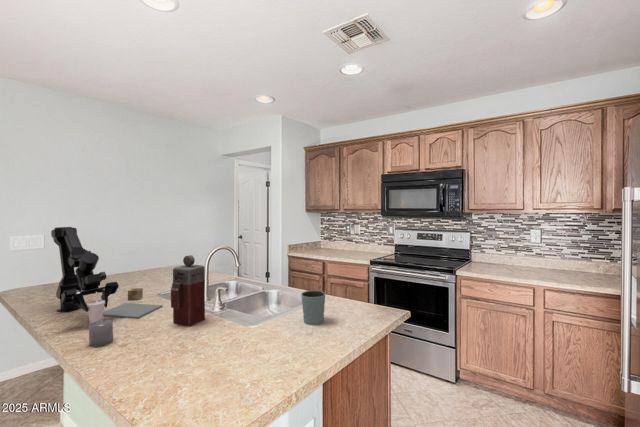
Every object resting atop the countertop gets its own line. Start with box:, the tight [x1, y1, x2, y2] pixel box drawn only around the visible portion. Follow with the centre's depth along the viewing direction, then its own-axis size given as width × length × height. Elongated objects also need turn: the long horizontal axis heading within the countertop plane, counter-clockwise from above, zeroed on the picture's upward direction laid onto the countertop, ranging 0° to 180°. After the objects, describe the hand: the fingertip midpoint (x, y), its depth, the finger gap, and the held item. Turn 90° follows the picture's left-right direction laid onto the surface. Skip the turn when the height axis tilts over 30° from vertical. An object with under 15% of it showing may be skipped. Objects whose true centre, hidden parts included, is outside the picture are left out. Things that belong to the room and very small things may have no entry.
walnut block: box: [127, 287, 144, 302], centre depth 164 cm, size 5×5×5 cm
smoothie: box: [85, 292, 105, 325], centre depth 127 cm, size 6×6×14 cm
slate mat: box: [103, 302, 163, 320], centre depth 145 cm, size 20×16×1 cm
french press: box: [170, 254, 206, 327], centre depth 132 cm, size 9×11×28 cm
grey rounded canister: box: [88, 319, 114, 348], centre depth 112 cm, size 7×7×7 cm
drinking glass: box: [300, 290, 326, 326], centre depth 134 cm, size 10×10×12 cm
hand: (97, 309), depth 127 cm, fingers closed on smoothie, 6 cm apart
